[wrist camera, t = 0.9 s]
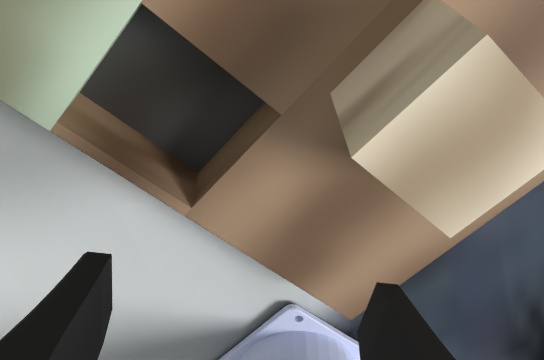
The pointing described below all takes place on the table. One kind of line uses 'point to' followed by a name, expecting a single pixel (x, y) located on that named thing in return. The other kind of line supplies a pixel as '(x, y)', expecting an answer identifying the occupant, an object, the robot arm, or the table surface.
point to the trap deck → (245, 120)
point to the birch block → (442, 117)
